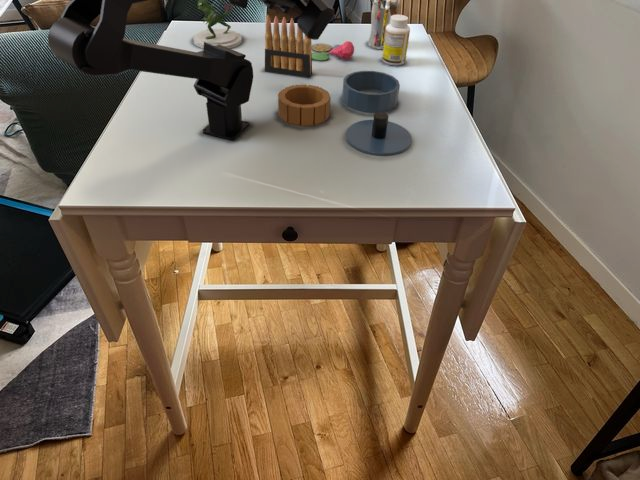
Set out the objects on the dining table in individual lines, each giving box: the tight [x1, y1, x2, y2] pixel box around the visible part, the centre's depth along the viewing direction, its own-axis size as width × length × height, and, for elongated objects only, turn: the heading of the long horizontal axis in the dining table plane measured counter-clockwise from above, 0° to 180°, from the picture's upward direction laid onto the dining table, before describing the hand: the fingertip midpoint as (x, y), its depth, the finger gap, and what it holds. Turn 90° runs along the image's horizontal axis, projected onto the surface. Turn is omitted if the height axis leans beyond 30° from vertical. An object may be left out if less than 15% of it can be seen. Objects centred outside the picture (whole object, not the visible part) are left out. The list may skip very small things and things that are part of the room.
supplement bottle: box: [381, 14, 411, 66], centre depth 113 cm, size 6×6×10 cm
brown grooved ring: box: [277, 84, 331, 127], centre depth 94 cm, size 10×10×4 cm
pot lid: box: [345, 112, 413, 157], centre depth 87 cm, size 12×12×5 cm
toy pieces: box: [311, 40, 355, 62], centre depth 117 cm, size 12×11×4 cm
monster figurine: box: [192, 0, 243, 49], centre depth 119 cm, size 12×12×10 cm
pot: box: [341, 70, 401, 114], centre depth 99 cm, size 11×11×4 cm
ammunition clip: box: [264, 14, 313, 79], centre depth 106 cm, size 11×2×12 cm, turn 75°
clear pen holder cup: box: [367, 0, 401, 50], centre depth 119 cm, size 7×7×15 cm
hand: (319, 2), depth 94 cm, fingers open, 9 cm apart
